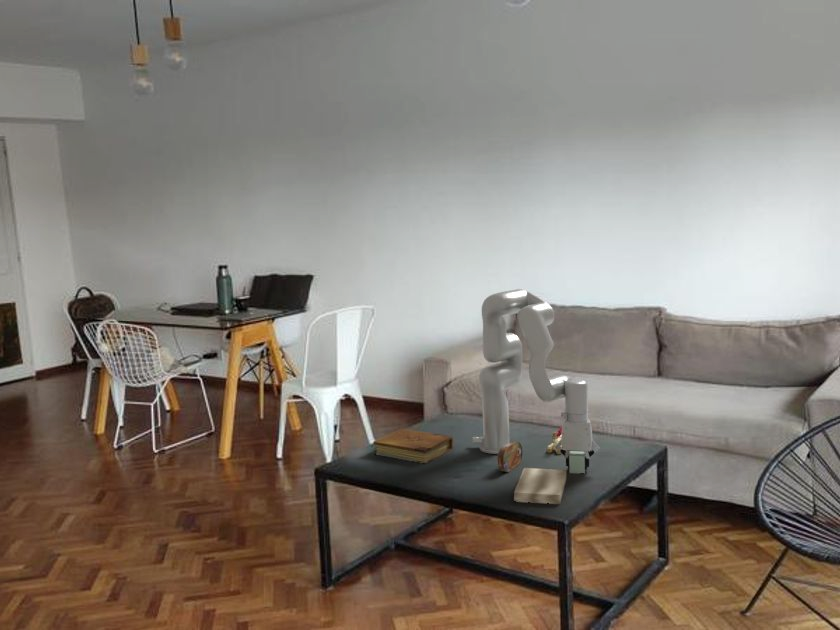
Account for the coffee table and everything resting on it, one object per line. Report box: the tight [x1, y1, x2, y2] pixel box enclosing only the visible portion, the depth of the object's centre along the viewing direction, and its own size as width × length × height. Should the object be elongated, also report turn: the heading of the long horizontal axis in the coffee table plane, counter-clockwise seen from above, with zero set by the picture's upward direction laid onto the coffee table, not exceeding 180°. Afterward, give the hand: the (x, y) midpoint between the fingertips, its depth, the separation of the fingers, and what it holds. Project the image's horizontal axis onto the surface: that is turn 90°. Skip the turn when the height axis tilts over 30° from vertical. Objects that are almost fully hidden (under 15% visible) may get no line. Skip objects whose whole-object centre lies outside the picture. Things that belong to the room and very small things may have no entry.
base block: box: [513, 467, 567, 505], centre depth 261 cm, size 14×22×3 cm, turn 165°
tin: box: [497, 441, 523, 473], centre depth 282 cm, size 15×3×8 cm, turn 148°
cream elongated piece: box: [546, 427, 562, 455], centre depth 305 cm, size 10×9×25 cm
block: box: [568, 451, 586, 475], centre depth 276 cm, size 5×5×6 cm
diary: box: [373, 428, 454, 464], centre depth 304 cm, size 23×19×6 cm
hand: (577, 467), depth 276 cm, fingers closed on block, 5 cm apart
